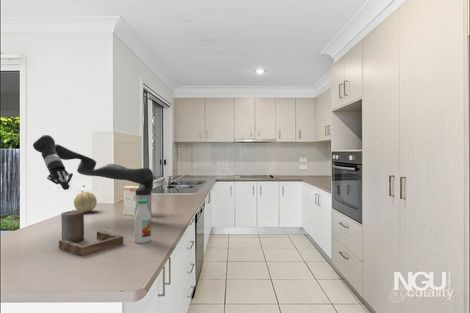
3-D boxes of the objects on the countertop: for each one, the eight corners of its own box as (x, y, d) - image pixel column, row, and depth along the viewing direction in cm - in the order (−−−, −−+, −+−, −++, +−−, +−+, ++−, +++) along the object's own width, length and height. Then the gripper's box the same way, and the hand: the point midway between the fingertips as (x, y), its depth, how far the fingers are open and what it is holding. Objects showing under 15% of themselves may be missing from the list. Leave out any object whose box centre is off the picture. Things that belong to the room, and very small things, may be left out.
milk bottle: (135, 244, 139) (135, 201, 139) (133, 240, 146) (133, 199, 146) (152, 242, 143) (152, 200, 142) (149, 238, 149) (149, 198, 149)
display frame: (59, 248, 132) (59, 240, 132) (100, 237, 149) (100, 230, 149) (81, 256, 123) (81, 247, 123) (123, 243, 140) (123, 236, 140)
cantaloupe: (90, 214, 205) (90, 192, 204) (69, 214, 205) (69, 192, 205) (100, 210, 219) (100, 190, 219) (80, 210, 220) (80, 189, 219)
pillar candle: (87, 237, 150) (87, 207, 150) (78, 243, 140) (77, 211, 140) (68, 237, 149) (67, 208, 149) (57, 243, 140) (56, 211, 140)
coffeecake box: (146, 215, 204) (146, 186, 204) (137, 217, 198) (137, 187, 198) (131, 212, 212) (131, 185, 212) (123, 214, 206) (123, 186, 206)
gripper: (64, 168, 168) (76, 192, 162) (38, 169, 157) (50, 194, 151) (69, 159, 165) (82, 182, 159) (43, 159, 154) (56, 185, 148)
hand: (66, 188), depth 155 cm, fingers closed
